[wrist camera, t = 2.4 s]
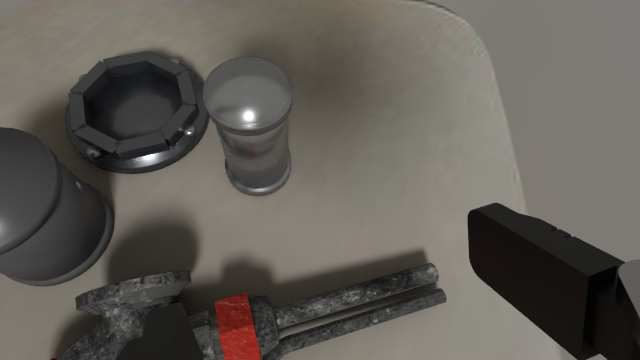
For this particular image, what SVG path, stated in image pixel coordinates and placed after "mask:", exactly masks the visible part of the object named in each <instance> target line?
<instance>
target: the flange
mask: <svg viewBox="0 0 640 360" xmlns="http://www.w3.org/2000/svg"><path fill="white" fill-rule="evenodd" d="M103 60H104V62H102V61H99V62H98V63H97V64H96V65H95V66H94V67H93V68H92V69H91V70H90V71H89V72H88V73H87V74H84V75H82V76H81V77H80V78H79V82H78V83H77V84H76V85H75V86H74V87H73V88H72V89H71V90H70V92H71V93H69V94H68V95H69V103H68V106H67V109H66V115H65V124H66V130H67V133H68V136H69V138H70V140H71V141H72V143H73V145H74V146H75V147H76V148H77V149H78V151H79V152H80V153H81V154H82V155H83V156H84V157H86V158H87V159H88V160H89V161H90V162H92V163H93V164H95V165H97V166H98V167H101V168H103V169H105V170H109V171H112V172H116V173H123V174H139V173H147V172H152V171H156V170H159V169H162V168H164V167H167V166H169V165H171V164H173V163H175V162H177V161H179V160H180V159H181V158H183V157H184V156H186V155H187V154H188V153H189V152H190V151H191V150H192V149H193V148H194V147H195V146H196V145H197V144H198V143H199V141H200V140H201V138H202V137H203V135H204V133H205V131H206V129H207V125H208V122H209V114H208V112H207V109H206V106H205V103H204V99H203V87H204V86H203V84H202V82H201V81H200V79H199V78H198V77H197V76H196V75H195V74H194V73H193V72H192V71H191V70H190V69H189V68H187V67H186V66H184V65H182V64H180V63H179V61H178V59H176V58H170V59H167V58H164V57H162V56H160V55H157V54H155V53H153V52H150V53H148V51H145V52H140V53H134V54H129V55H123V56H118V57H112V58H107V59H103Z"/></svg>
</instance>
